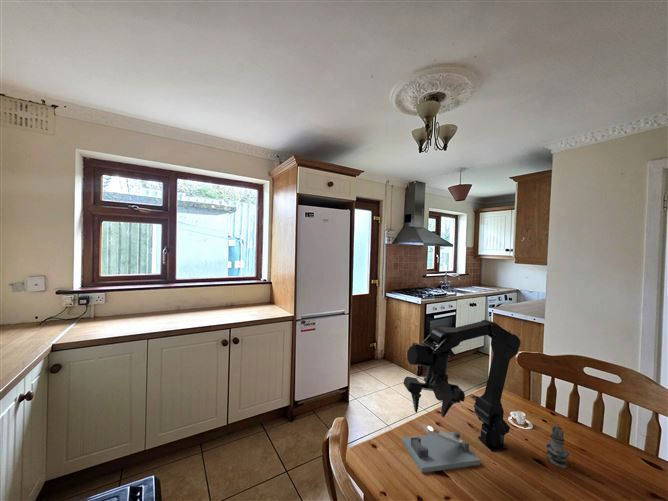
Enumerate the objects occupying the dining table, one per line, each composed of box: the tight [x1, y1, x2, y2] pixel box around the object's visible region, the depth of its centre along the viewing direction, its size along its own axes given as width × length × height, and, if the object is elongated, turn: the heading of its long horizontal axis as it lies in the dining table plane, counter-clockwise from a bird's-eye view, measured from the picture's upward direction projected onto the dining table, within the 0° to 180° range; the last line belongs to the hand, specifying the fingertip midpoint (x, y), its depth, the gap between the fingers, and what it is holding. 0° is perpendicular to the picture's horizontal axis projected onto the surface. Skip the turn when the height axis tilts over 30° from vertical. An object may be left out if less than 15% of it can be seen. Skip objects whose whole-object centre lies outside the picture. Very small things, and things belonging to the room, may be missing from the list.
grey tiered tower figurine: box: [545, 423, 570, 469], centre depth 85 cm, size 6×6×12 cm
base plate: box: [402, 431, 481, 474], centre depth 88 cm, size 20×13×4 cm, turn 100°
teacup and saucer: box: [508, 410, 534, 430], centre depth 105 cm, size 9×8×4 cm
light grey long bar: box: [422, 423, 465, 448], centre depth 88 cm, size 15×3×2 cm, turn 100°
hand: (429, 414), depth 87 cm, fingers open, 9 cm apart
